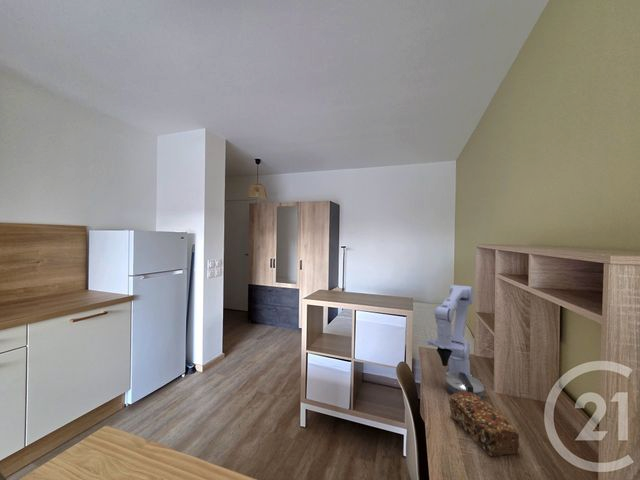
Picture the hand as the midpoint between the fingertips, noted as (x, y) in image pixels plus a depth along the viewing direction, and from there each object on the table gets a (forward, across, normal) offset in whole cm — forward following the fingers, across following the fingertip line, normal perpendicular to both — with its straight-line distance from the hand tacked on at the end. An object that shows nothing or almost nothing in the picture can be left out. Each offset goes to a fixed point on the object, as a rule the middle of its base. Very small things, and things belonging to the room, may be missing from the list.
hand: (445, 365), depth 109 cm
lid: (+6, +7, +2) cm, 10 cm away
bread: (+11, +18, -18) cm, 28 cm away
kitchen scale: (+10, +8, +1) cm, 13 cm away
